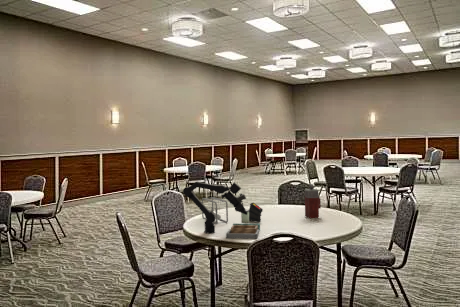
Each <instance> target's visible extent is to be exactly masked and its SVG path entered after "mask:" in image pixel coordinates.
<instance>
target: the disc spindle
mask: <svg viewBox="0 0 460 307" xmlns="http://www.w3.org/2000/svg"><path fill="white" fill-rule="evenodd" d="M245 211H246V212H247V213H248V214H247V215H246V214H243V213H241V212H240V213H241V214H240V215H241V216H240V217H241V218H240V219H241V223H240V224H250V221H249V209H248V208H247V209H246V208H245Z"/></svg>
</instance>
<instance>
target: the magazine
mask: <svg viewBox="0 0 460 307" xmlns="http://www.w3.org/2000/svg"><path fill="white" fill-rule="evenodd" d="M248 210H249V222H253V223H254V222H255V223H260V222H261V220H262V218H261V216H262V212H264V210H263V208H262V207H261V206H259V205H257V204H256V203H255V202H250V203H249V208H248Z"/></svg>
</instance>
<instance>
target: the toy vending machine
mask: <svg viewBox="0 0 460 307" xmlns="http://www.w3.org/2000/svg"><path fill="white" fill-rule="evenodd" d="M308 187H309V188H305V189H304V217H305V216H306V217H305V218H307V217H308V218H307V219H318V217H319V218H320V209H322V208H321V197H320V196H319V189H317V188H314V187H315V186H314V184H313V183H309V185H308Z"/></svg>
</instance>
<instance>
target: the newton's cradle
mask: <svg viewBox="0 0 460 307" xmlns="http://www.w3.org/2000/svg"><path fill="white" fill-rule="evenodd" d="M204 201H207V202H208V204H210V203H211V206H208V207H209V209H210V211H211V210H213V212H214V213H216V214H215V215H216V219H215V221H214V222H213V224H214V225H217V224H218V220H219V221H220V222H219V224H224V223H229V222H228V221H229V213H228V212H229V211H228V210H229V209H228V207H229V206H228V200H224V199H222V198H217V197H214V196H211V199H210V198H209V197H202V198H201V202H202V203H203V204H204ZM219 203H220V204H221V203H225V208H226V210H225V213H226V220H224V219H223V218H222V217H221V215H220V214H219V212H221V211H220V210H221V209H219V208H218V204H219ZM218 209H219V211H218ZM204 216H205V215H204V213H203V212H202V211H201V217H202V219H203V220H205V221H206V220H207V219H206V217H204Z"/></svg>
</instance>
